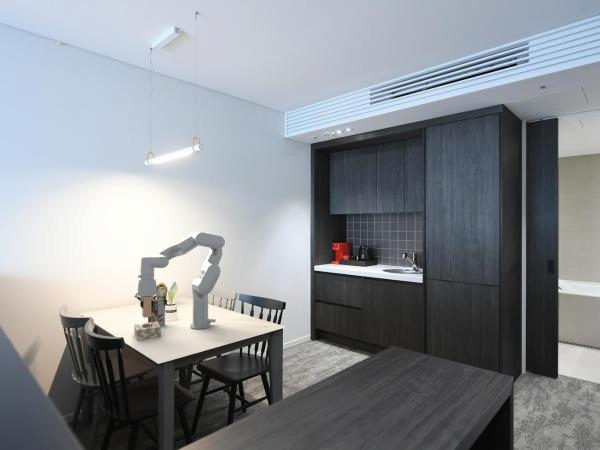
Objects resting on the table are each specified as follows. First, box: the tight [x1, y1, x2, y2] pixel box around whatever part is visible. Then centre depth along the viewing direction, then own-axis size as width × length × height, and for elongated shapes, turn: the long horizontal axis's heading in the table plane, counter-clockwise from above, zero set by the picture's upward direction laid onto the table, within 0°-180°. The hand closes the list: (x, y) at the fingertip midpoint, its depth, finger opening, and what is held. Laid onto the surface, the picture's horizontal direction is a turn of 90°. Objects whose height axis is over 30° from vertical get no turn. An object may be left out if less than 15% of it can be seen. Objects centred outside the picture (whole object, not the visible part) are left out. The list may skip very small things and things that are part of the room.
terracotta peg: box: [141, 296, 151, 319], centre depth 216 cm, size 6×4×12 cm
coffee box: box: [147, 298, 166, 327], centre depth 238 cm, size 9×6×16 cm
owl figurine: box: [156, 282, 169, 306], centre depth 298 cm, size 18×12×17 cm, turn 45°
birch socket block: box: [133, 322, 162, 341], centre depth 217 cm, size 13×13×6 cm
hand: (146, 307), depth 216 cm, fingers closed on terracotta peg, 4 cm apart
